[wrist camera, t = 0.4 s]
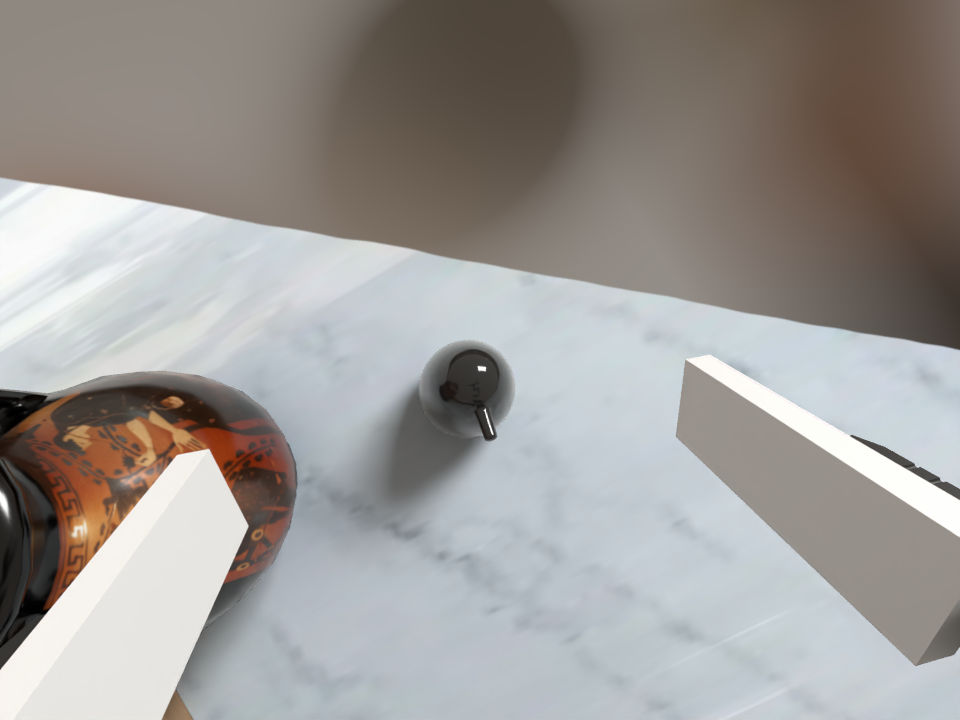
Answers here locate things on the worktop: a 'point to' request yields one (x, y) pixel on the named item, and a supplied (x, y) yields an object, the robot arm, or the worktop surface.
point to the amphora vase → (126, 477)
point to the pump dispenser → (467, 389)
